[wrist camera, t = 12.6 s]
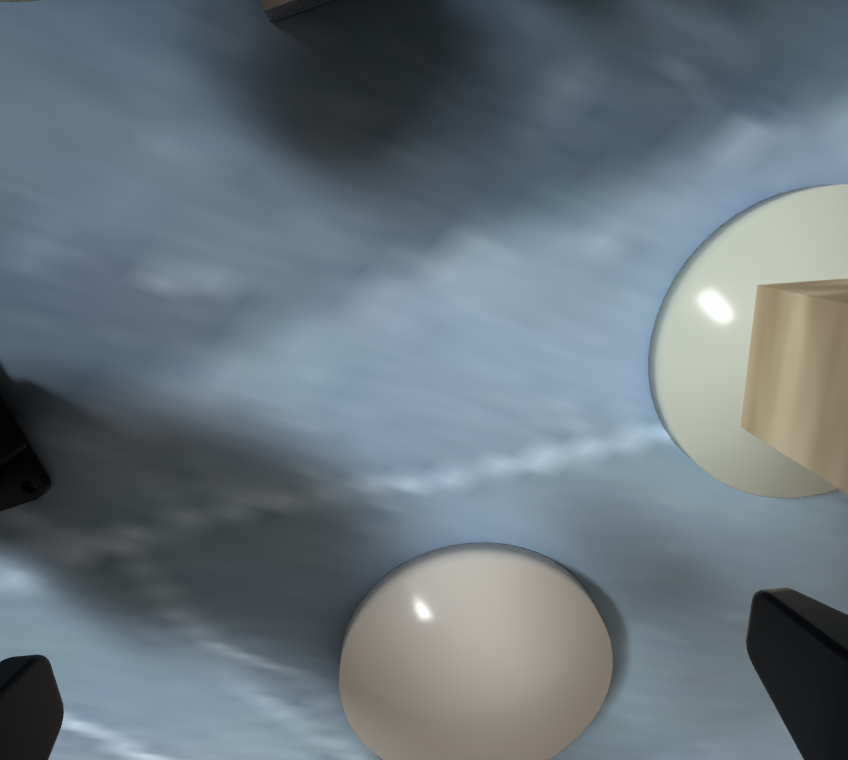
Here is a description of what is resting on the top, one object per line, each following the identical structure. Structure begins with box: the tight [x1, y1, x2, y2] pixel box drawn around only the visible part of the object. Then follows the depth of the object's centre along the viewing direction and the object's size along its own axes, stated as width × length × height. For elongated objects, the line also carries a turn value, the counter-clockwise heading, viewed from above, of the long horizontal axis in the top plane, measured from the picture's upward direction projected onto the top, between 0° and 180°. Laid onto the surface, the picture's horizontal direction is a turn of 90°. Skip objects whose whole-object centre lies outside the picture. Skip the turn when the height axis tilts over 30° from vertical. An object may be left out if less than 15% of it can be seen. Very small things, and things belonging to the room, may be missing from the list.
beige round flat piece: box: [648, 184, 848, 498], centre depth 20 cm, size 11×11×1 cm
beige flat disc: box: [339, 543, 613, 760], centre depth 23 cm, size 11×11×1 cm
